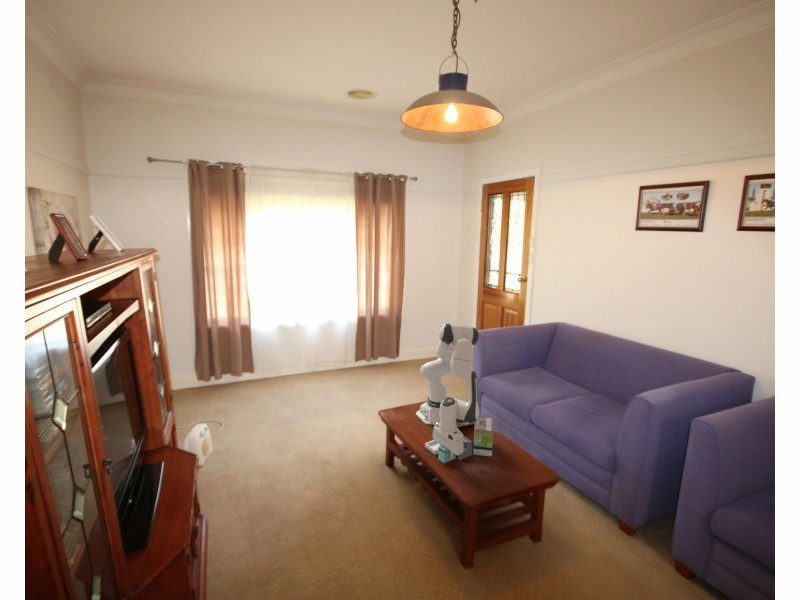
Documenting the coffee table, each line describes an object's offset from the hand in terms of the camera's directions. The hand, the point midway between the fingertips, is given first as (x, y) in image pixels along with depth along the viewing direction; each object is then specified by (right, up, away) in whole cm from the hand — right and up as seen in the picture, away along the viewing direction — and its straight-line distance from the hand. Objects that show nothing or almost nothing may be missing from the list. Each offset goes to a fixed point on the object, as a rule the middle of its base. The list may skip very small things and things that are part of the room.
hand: (447, 454), depth 205 cm
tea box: (+21, -1, +10) cm, 23 cm away
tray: (-4, -1, +10) cm, 11 cm away
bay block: (+7, -2, +5) cm, 9 cm away
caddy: (0, -2, 0) cm, 2 cm away
